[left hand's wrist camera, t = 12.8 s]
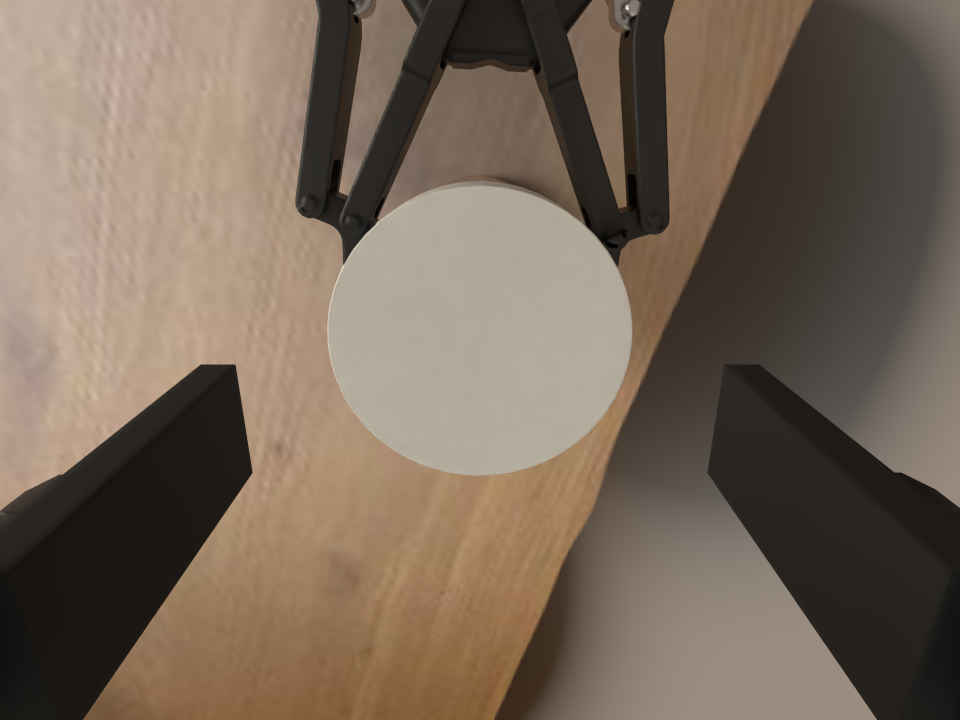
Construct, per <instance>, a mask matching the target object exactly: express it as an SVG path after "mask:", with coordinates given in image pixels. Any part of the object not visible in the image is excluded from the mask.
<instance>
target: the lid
mask: <svg viewBox="0 0 960 720" xmlns="http://www.w3.org/2000/svg"><path fill="white" fill-rule="evenodd" d="M632 330H633V325H632V315H631V306H630V302H629V298H628V294H627V290H626V287H625V284H624V282H623V279H622V277H621V274H620V272H619V269H618V268H617V266H616V264H615V262H614V261H613V259H612V257H611V255H610V254H609V252H608V251H607V249H606V248H605V247H604V246H603V244H602V243H601V242H600V240H599V239H598V238H597V237H596V235H594V234H593V233H592V232H591V231H590V230H589V229H588V228H587V227H586V226H585V225H584V224H583V223H582V222H581V221H580V220H578V219H577V218H576V217H575V216H573V215H572V214H571V213H569V212H568V211H567V210H565V209H564V208H563V207H561V206H560V205H558V204H557V203H556V202H554V201H552V200H550V199H548V198H546V197H545V196H543V195H541V194H539V193H536V192H534V191H531V190H528V189H525V188H523V187H520V186H515V185H511V184H506V183H502V182H490V181H470V182H459V183H454V184H449V185H444V186H441V187H438V188H435V189H432V190H429V191H426V192H423V193H421V194H419V195H418V196H416V197H414V198H412V199H410V200H408V201H406V202H405V203H403V204H402V205H400V206H399V207H397V208H396V209H394V210H393V211H392V212H390V213H389V214H388V215H386V216H385V217H384V218H383V219H381V220H380V221H379V222H378V223H377V224H376V225H375V226H374V227H373V228H372V229H371V230H370V231H368V232H367V233H366V234H365V236H364V237H363V238H362V239H361V241H360V242H359V243H358V244H357V245H356V247H355V248H354V249H353V251H352V252H351V254H350V256H349V257H348V259H347V261H346V262H345V264H344V265H343V267H342V270H341V272H340V274H339V277H338V279H337V281H336V284H335V287H334V290H333V294H332V298H331V302H330V307H329V315H328V347H329V353H330V359H331V363H332V367H333V370H334V374H335V377H336V380H337V382H338V384H339V386H340V389H341V391H342V393H343V395H344V397H345V399H346V400H347V402H348V404H349V405H350V407H351V408H352V410H353V412H354V413H355V414H356V415H357V417H358V418H359V419H360V420H361V422H362V423H363V424H364V425H365V426H366V427H367V428H368V429H369V430H370V431H371V432H372V433H373V434H374V435H375V436H376V437H377V438H378V439H379V440H381V441H382V442H383V443H385V444H386V445H387V446H389V447H390V448H391V449H393V450H394V451H396V452H398V453H400V454H401V455H403V456H405V457H406V458H408V459H410V460H413V461H415V462H417V463H420V464H422V465H424V466H427V467H431V468H434V469H437V470H440V471H445V472H450V473H456V474H462V475H477V476H480V475H498V474H504V473H510V472H516V471H519V470H523V469H526V468H530V467H533V466H535V465H538V464H540V463H543V462H545V461H548V460H550V459H552V458H553V457H555V456H557V455H559V454H560V453H562V452H564V451H566V450H567V449H568V448H570V447H571V446H573V445H574V444H575V443H577V442H578V441H579V440H581V439H582V438H583V437H584V436H585V435H586V434H587V433H588V432H589V431H590V430H591V429H592V428H593V427H594V426H595V425H596V424H597V423H598V421H599V420H600V419H601V418H602V417H603V416H604V414H605V413H606V411H607V410H608V408H609V407H610V405H611V404H612V402H613V400H614V399H615V397H616V395H617V393H618V391H619V389H620V387H621V384H622V382H623V380H624V376H625V373H626V370H627V367H628V364H629V359H630V353H631V347H632Z"/></svg>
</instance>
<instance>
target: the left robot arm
mask: <svg viewBox="0 0 960 720" xmlns="http://www.w3.org/2000/svg"><path fill="white" fill-rule="evenodd" d="M252 473H253V472H252V466H251V460H250V453H249V447H248V441H247V434H246V428H245V422H244V415H243V409H242V403H241V396H240V390H239V384H238V377H237V371H236V365H200V366H198V367H197V368H196V369H195V370H193V371H192V372H191V373H190V374H188V375H187V376H186V377H185V378H183V379H182V380H181V381H180V382H178V383H177V384H176V385H175V386H173V387H172V388H171V389H170V390H168V391H167V392H166V393H165V394H163V395H162V396H161V397H160V398H158V399H157V400H156V401H155V402H153V403H152V404H151V405H150V406H148V407H147V408H146V409H145V410H143V411H142V412H141V413H140V414H138V415H137V416H136V417H135V418H133V419H132V420H131V421H130V422H128V423H127V424H126V425H125V426H123V427H122V428H121V429H120V430H118V431H117V432H116V433H114V434H113V435H112V436H111V437H109V438H108V439H107V440H106V441H104V442H103V443H102V444H101V445H99V446H98V447H97V448H96V449H94V450H93V451H92V452H91V453H89V454H88V455H87V456H86V457H84V458H83V459H82V460H81V461H79V462H78V463H77V464H76V465H74V466H73V467H72V468H71V469H69V470H68V471H67V472H66V473H64V474H63V475H58V476H56V477H54V478H52V479H50V480H48V481H46V482H44V483H42V484H40V485H38V486H36V487H34V488H32V489H29V490H27V491H25V492H24V493H23V494H21V495H20V496H19V497H18V498H16V499H15V500H14V501H12V502H11V503H10V504H8V505H7V506H6V507H5V508H3V509H2V510H1V511H0V720H83V719H84V717H85V716H86V714H87V713H88V711H89V710H90V709H91V707H92V706H93V704H94V703H95V701H96V700H97V698H98V697H99V695H100V694H101V693H102V691H103V690H104V688H105V687H106V685H107V684H108V682H109V681H110V679H111V678H112V677H113V675H114V674H115V672H116V671H117V669H118V668H119V666H120V665H121V663H122V662H123V661H124V659H125V658H126V656H127V655H128V653H129V652H130V650H131V649H132V647H133V646H134V645H135V643H136V642H137V640H138V639H139V637H140V636H141V634H142V633H143V631H144V630H145V629H146V627H147V626H148V624H149V623H150V621H151V620H152V618H153V617H154V615H155V614H156V613H157V611H158V610H159V608H160V607H161V605H162V604H163V602H164V601H165V599H166V598H167V597H168V595H169V594H170V592H171V591H172V589H173V588H174V586H175V585H176V583H177V582H178V581H179V579H180V578H181V576H182V575H183V573H184V572H185V570H186V569H187V567H188V566H189V565H190V563H191V562H192V560H193V559H194V557H195V556H196V554H197V553H198V551H199V550H200V549H201V547H202V546H203V544H204V543H205V541H206V540H207V538H208V537H209V535H210V534H211V533H212V531H213V530H214V528H215V527H216V525H217V524H218V522H219V521H220V519H221V518H222V517H223V515H224V514H225V512H226V511H227V509H228V508H229V506H230V505H231V503H232V502H233V501H234V499H235V498H236V496H237V495H238V493H239V492H240V490H241V489H242V487H243V486H244V485H245V483H246V482H247V480H248V479H249V477H250V476H251V474H252ZM708 474H709V476H710V477H711V479H712V480H713V482H714V483H715V485H716V486H717V487H718V489H719V490H720V492H721V493H722V495H723V496H724V498H725V499H726V501H727V502H728V503H729V505H730V506H731V508H732V509H733V511H734V512H735V514H736V515H737V517H738V518H739V519H740V521H741V522H742V524H743V525H744V527H745V528H746V530H747V531H748V533H749V534H750V535H751V537H752V538H753V540H754V541H755V543H756V544H757V546H758V547H759V549H760V550H761V551H762V553H763V554H764V556H765V557H766V559H767V560H768V562H769V563H770V564H771V566H772V567H773V569H774V570H775V572H776V573H777V575H778V576H779V577H780V579H781V580H782V582H783V583H784V585H785V586H786V588H787V589H788V591H789V592H790V594H791V595H792V596H793V598H794V599H795V601H796V602H797V604H798V605H799V607H800V608H801V610H802V611H803V613H804V614H805V615H806V617H807V618H808V620H809V621H810V623H811V624H812V626H813V627H814V629H815V630H816V631H817V633H818V634H819V636H820V637H821V639H822V640H823V642H824V643H825V645H826V646H827V647H828V649H829V650H830V652H831V653H832V655H833V656H834V658H835V659H836V661H837V662H838V663H839V665H840V666H841V668H842V669H843V671H844V672H845V674H846V675H847V676H848V678H849V679H850V681H851V682H852V684H853V685H854V687H855V688H856V690H857V691H858V693H859V694H860V695H861V697H862V698H863V700H864V701H865V703H866V704H867V706H868V707H869V708H870V710H871V711H872V713H873V714H874V716H875V717H876V719H877V720H960V508H959V507H958V506H956V505H955V504H954V503H952V502H951V501H950V500H949V499H947V498H946V497H945V496H943V495H942V494H941V493H939V492H938V491H937V490H935V489H933V488H932V487H929V486H927V485H925V484H923V483H921V482H919V481H917V480H915V479H913V478H911V477H909V476H907V475H905V474H903V473H894V472H893V471H892V470H891V469H889V468H888V467H887V466H886V465H884V464H883V463H882V462H881V461H879V460H878V459H877V458H876V457H874V456H873V455H872V454H871V453H869V452H868V451H867V450H866V449H864V448H863V447H862V446H861V445H859V444H858V443H857V442H855V441H854V440H853V439H852V438H850V437H849V436H848V435H847V434H845V433H844V432H843V431H842V430H840V429H839V428H838V427H837V426H835V425H834V424H833V423H832V422H830V421H829V420H828V419H827V418H825V417H824V416H823V415H822V414H820V413H819V412H818V411H817V410H815V409H814V408H813V407H812V406H810V405H809V404H808V403H807V402H805V401H804V400H803V399H802V398H800V397H799V396H798V395H797V394H795V393H794V392H793V391H792V390H790V389H789V388H788V387H787V386H785V385H784V384H783V383H782V382H780V381H779V380H778V379H776V378H775V377H774V376H773V375H772V374H770V373H769V372H768V371H767V370H765V369H764V368H763V367H762V366H760V365H724V371H723V378H722V384H721V390H720V396H719V403H718V409H717V416H716V422H715V428H714V434H713V441H712V447H711V454H710V460H709V466H708Z"/></svg>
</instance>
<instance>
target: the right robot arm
mask: <svg viewBox="0 0 960 720" xmlns="http://www.w3.org/2000/svg"><path fill="white" fill-rule="evenodd" d="M401 1H402V2H403V4H404V6H405V7H406V9H407V10H408V12H409V14H410V15H411V17H412V19H413V20H414V22H415V24H416V25H417V27H418V28H417V30H416V32H415V35H414V37H413V39H412V42H411V44H410V46H409V49H408V51H407V54H406V56H405V59H404V62H403V66H402V70H401V73H400V76H399V78H398V80H397V83H396V85H395V87H394V90H393V92H392V94H391V97H390V99H389V101H388V104H387V106H386V109H385V111H384V113H383V116H382V118H381V120H380V123H379V125H378V127H377V130H376V132H375V134H374V137H373V139H372V142H371V144H370V146H369V149H368V151H367V153H366V156H365V158H364V160H363V163H362V165H361V167H360V170H359V172H358V175H357V177H356V179H355V182H354V184H353V186H352V189H351V191H350V193H349V196H347V195H345V194H342V193H340V192H339V188H340V181H341V174H342V168H343V161H344V155H345V148H346V142H347V135H348V129H349V122H350V115H351V109H352V102H353V96H354V89H355V83H356V76H357V70H358V63H359V57H360V50H361V40H362V22H361V19H365V18H368V17H369V16H371V15H372V13H373V12H374V10H375V7H376V0H316V4H317V9H318V15H319V20H318V28H317V36H316V44H315V51H314V59H313V67H312V75H311V83H310V90H309V98H308V106H307V114H306V122H305V129H304V137H303V145H302V153H301V161H300V169H299V176H298V184H297V192H296V200H295V201H296V207H297V209H298V211H299V212H300V213H301V214H302V215H303V216H305V217H307V218H315V219H318V220H320V221H323V222H325V223H328V224H330V225H332V226H334V227H335V228H336V229H337V230H338V231H339V233H340V235H341V237H342V242H343V265H344V264H345V262H346V261H347V259H348V257H349V256H350V254H351V252H352V251H353V249H354V248H355V247H356V245H357V244H358V243H359V242H360V241H361V239H362V238H363V237H364V236H365V234H366V233H367V232H368V231H370V230H371V229H372V228H373V227H374V226H375V223H376V222H377V221H378V216H379V214H380V211H381V209H382V207H383V205H384V202H385V200H386V198H387V196H388V193H389V191H390V189H391V187H392V185H393V182H394V180H395V178H396V176H397V173H398V171H399V169H400V167H401V164H402V162H403V160H404V158H405V155H406V153H407V151H408V149H409V146H410V144H411V142H412V140H413V138H414V135H415V133H416V131H417V129H418V126H419V124H420V122H421V120H422V117H423V115H424V113H425V111H426V108H427V106H428V104H429V102H430V99H431V97H432V95H433V93H434V91H435V89H436V88H437V86H438V84H439V82H440V80H441V78H442V75H443V73H444V71H445V69H446V67H447V64H448V65H451V66H452V67H453V68H455V69H474V68H479V67H483V66H487V65H492V66H495V67H498V68H501V69H504V70H506V71H513V72H527V71H528V70H529V69H532V70H533V73H534V76H535V79H536V82H537V85H538V88H539V90H540V92H541V94H542V96H543V99H544V102H545V105H546V108H547V111H548V114H549V117H550V120H551V123H552V126H553V129H554V132H555V135H556V138H557V141H558V144H559V147H560V150H561V152H562V155H563V158H564V161H565V164H566V167H567V170H568V173H569V176H570V179H571V182H572V185H573V188H574V191H575V194H576V197H577V200H578V203H579V206H580V209H581V212H582V215H583V218H584V221H585V224H586V227H587V228H588V229H589V230H590V231H591V232H592V233H593V234H594V235H596V237H597V238H598V239H599V240H600V242H601V243H602V244H603V246H604V247H605V248H606V249H607V251H608V252H609V254H610V255H611V257H612V259H613V261H614V262H615V264H616V266H617V268H618V262H619V255H620V251H621V249H622V248H624V247H625V245H626V244H627V243H628V241H630V240H632V239H635V238H638V237H641V236H644V235H648V234H654V235H656V234H659V233H661V232H663V231H664V230H665V229H666V228H667V226H668V224H669V219H670V215H669V182H668V149H667V115H666V82H665V49H664V34H665V31H666V27H667V24H668V20H669V17H670V13H671V9H672V6H673V2H674V0H605V1H606V3H607V4H608V8H609V22H610V25H611V27H612V28H613V29H614V30H615V31H616V32H619V33H621V38H620V47H619V70H620V89H621V107H622V125H623V143H624V162H625V180H626V198H627V206H626V207H623V208H620V209H618V206H617V202H616V199H615V196H614V193H613V190H612V186H611V183H610V180H609V177H608V174H607V170H606V167H605V164H604V161H603V158H602V154H601V151H600V148H599V145H598V142H597V138H596V135H595V132H594V129H593V126H592V122H591V119H590V116H589V113H588V109H587V106H586V103H585V100H584V97H583V93H582V90H581V87H580V84H579V80H578V71H577V67H576V63H575V60H574V57H573V53H572V50H571V47H570V44H569V40H568V37H567V33H568V32H569V30H570V29H571V28H572V26H573V25H574V24H575V22H576V21H577V20H578V18H579V17H580V16H581V14H582V13H583V12H584V10H585V9H586V8H587V6H588V5H589V4H590V2H591V1H592V0H401Z"/></svg>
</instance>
